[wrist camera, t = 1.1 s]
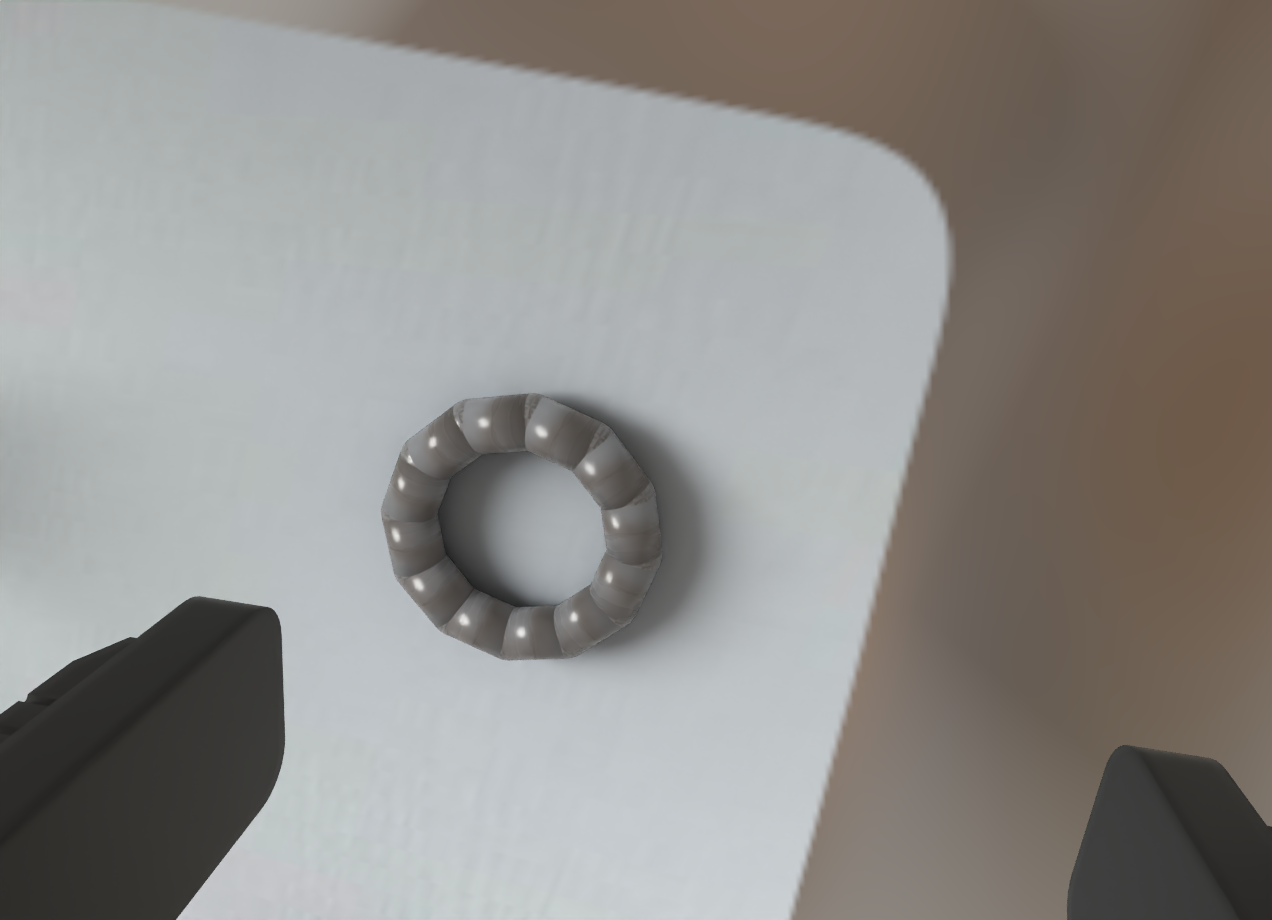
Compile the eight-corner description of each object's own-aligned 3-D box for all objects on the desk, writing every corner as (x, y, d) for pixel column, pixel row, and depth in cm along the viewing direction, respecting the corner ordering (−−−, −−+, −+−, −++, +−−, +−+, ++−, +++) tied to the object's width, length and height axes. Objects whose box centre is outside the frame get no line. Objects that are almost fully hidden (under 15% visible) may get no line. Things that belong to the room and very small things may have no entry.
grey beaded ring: (372, 401, 24) (349, 416, 23) (645, 378, 23) (638, 392, 22) (424, 647, 26) (406, 673, 25) (676, 637, 25) (671, 664, 24)
